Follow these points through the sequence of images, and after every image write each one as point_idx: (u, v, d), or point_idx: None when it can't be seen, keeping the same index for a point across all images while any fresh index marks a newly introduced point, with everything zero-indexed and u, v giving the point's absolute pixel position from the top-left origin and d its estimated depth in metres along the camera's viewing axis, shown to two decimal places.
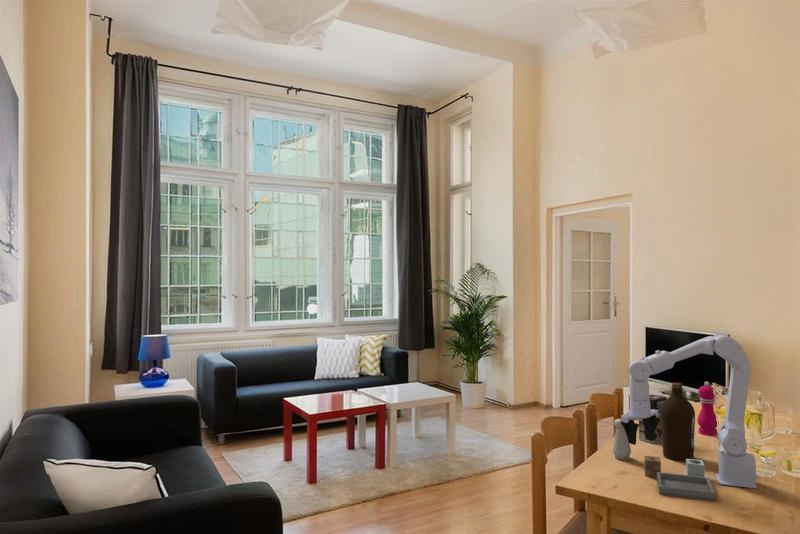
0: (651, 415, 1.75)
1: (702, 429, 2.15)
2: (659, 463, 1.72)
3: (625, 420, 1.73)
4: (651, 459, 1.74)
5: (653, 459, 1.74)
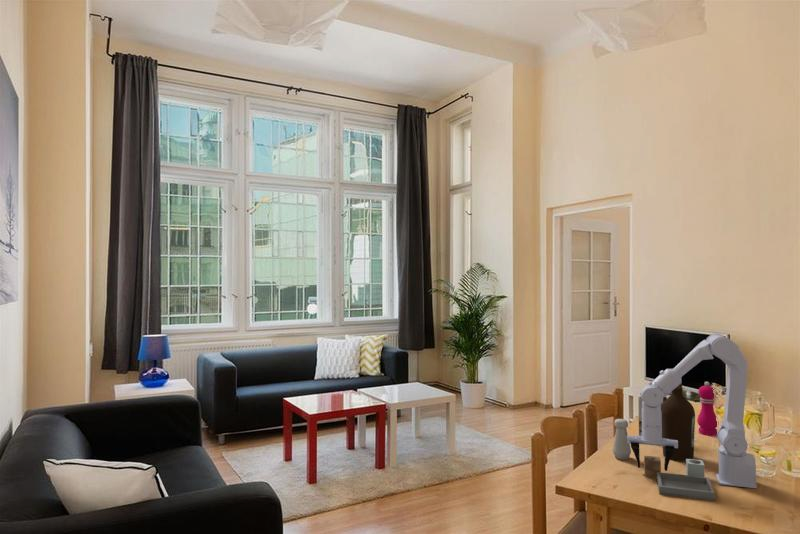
0: (660, 443, 1.72)
1: (702, 429, 2.15)
2: (659, 463, 1.72)
3: (627, 441, 1.77)
4: (651, 459, 1.74)
5: (653, 459, 1.74)
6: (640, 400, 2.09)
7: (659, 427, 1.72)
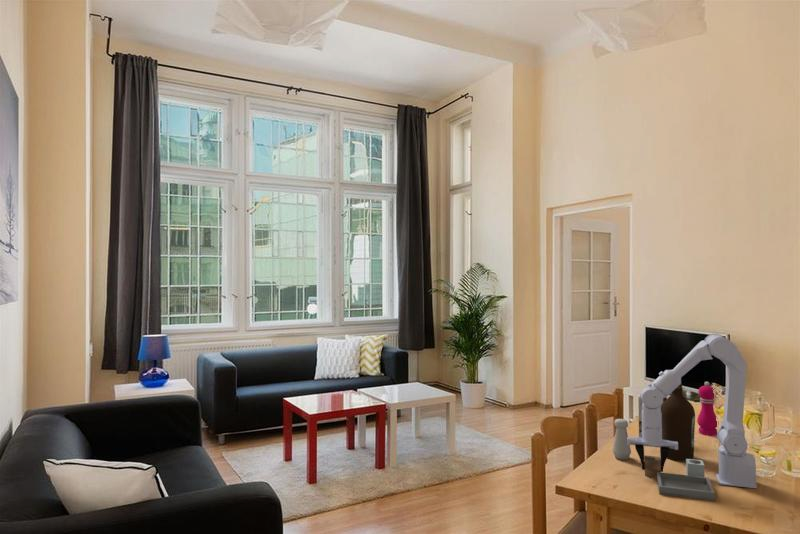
0: (660, 445, 1.72)
1: (702, 429, 2.15)
2: (659, 463, 1.72)
3: (627, 442, 1.77)
4: (651, 459, 1.74)
5: (653, 459, 1.74)
6: (640, 400, 2.09)
7: (659, 429, 1.72)
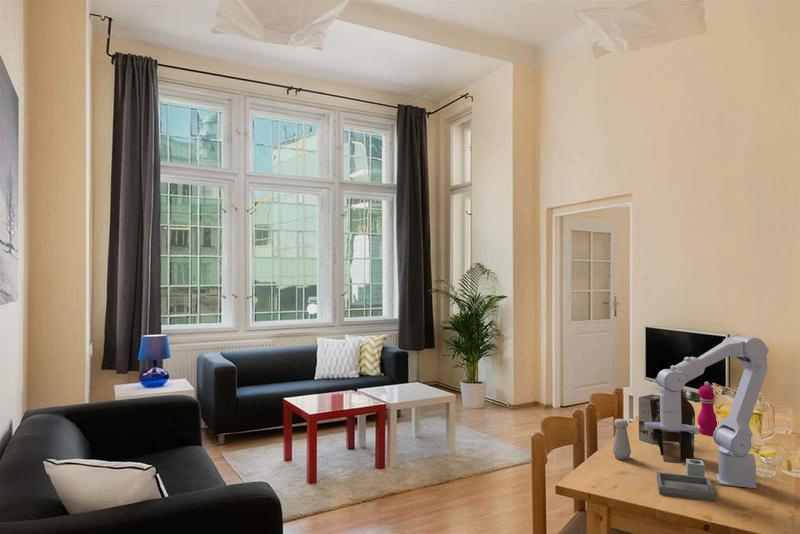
0: (679, 429, 1.64)
1: (702, 429, 2.15)
2: (678, 448, 1.64)
3: None
4: (670, 444, 1.66)
5: (672, 444, 1.66)
6: (640, 400, 2.09)
7: (678, 412, 1.65)
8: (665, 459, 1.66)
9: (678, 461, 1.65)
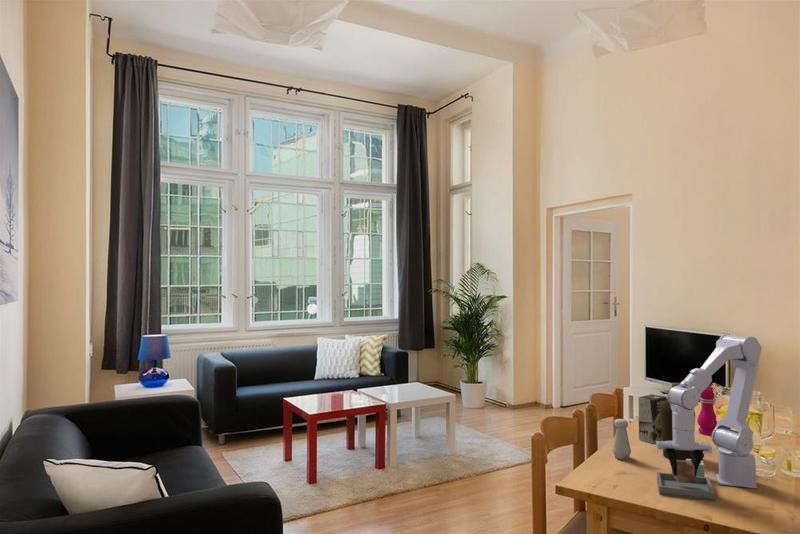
0: (694, 448, 1.60)
1: (702, 429, 2.15)
2: (693, 467, 1.60)
3: (657, 446, 1.64)
4: (683, 463, 1.62)
5: (685, 463, 1.62)
6: (640, 400, 2.09)
7: (693, 431, 1.60)
8: (679, 479, 1.61)
9: (692, 481, 1.60)
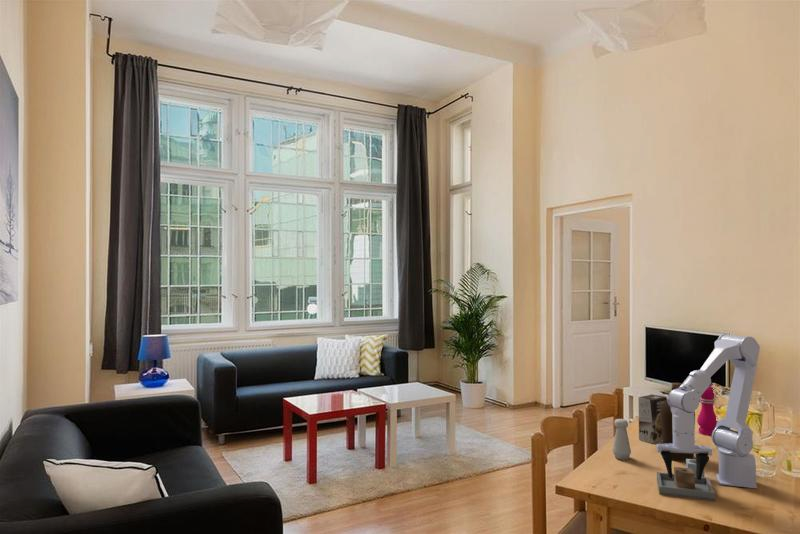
0: (694, 451, 1.60)
1: (702, 429, 2.15)
2: (693, 475, 1.60)
3: (657, 449, 1.64)
4: (683, 471, 1.62)
5: (685, 471, 1.62)
6: (640, 400, 2.09)
7: (693, 433, 1.60)
8: (679, 487, 1.61)
9: (692, 488, 1.60)
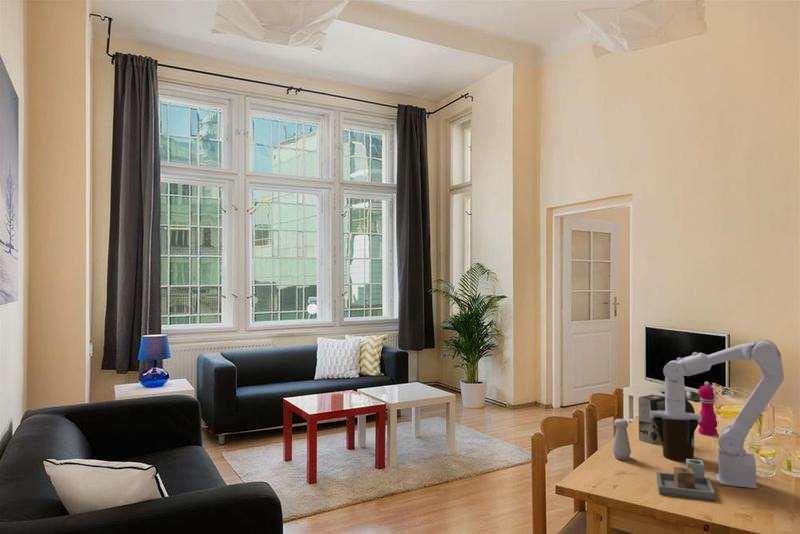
0: (683, 417, 1.73)
1: (702, 429, 2.15)
2: (693, 475, 1.60)
3: (650, 415, 1.78)
4: (683, 471, 1.62)
5: (685, 471, 1.62)
6: (640, 400, 2.09)
7: (683, 401, 1.74)
8: (679, 487, 1.61)
9: (692, 488, 1.60)
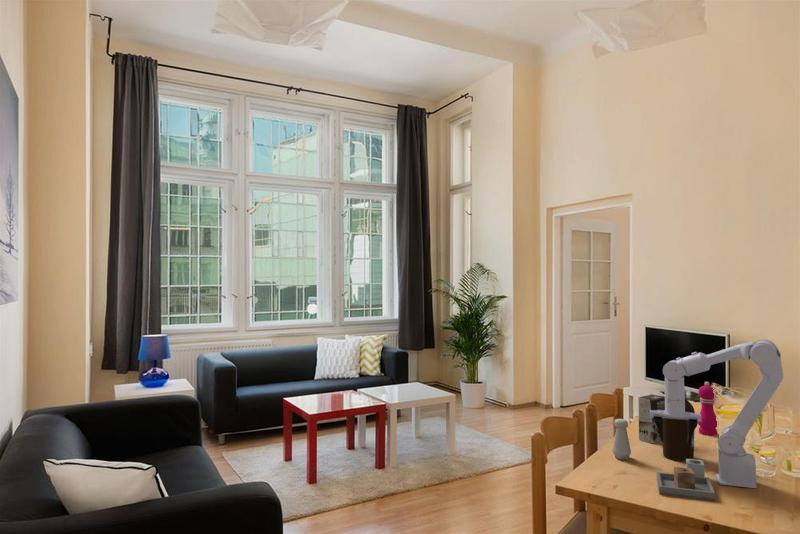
0: (683, 417, 1.74)
1: (702, 429, 2.15)
2: (693, 475, 1.60)
3: (650, 415, 1.79)
4: (683, 471, 1.62)
5: (685, 471, 1.62)
6: (640, 400, 2.09)
7: (682, 401, 1.74)
8: (679, 487, 1.61)
9: (692, 488, 1.60)
